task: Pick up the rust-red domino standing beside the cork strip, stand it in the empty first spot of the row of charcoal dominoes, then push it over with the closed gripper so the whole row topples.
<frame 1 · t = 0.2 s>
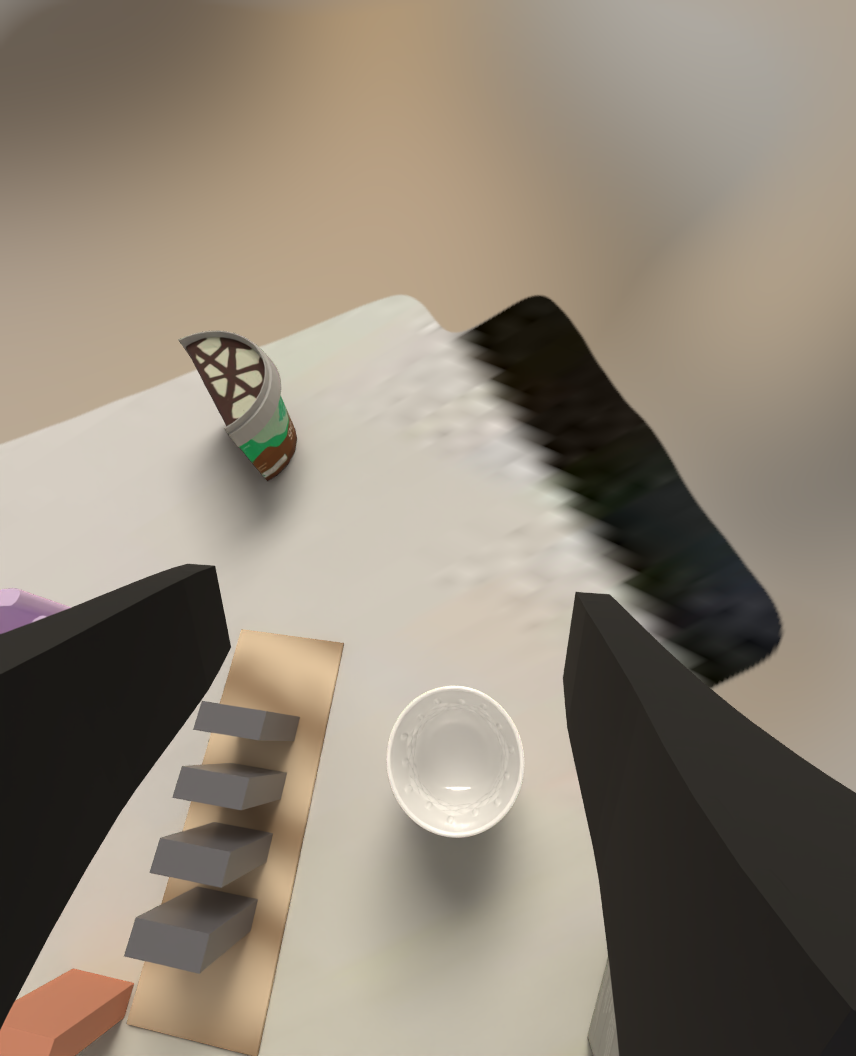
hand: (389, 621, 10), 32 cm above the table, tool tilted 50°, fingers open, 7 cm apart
food container: (277, 434, 51), on the table
domino 5: (269, 724, 39), resting on cork strip
skincare box: (658, 1018, 31), on the table
white cup: (458, 754, 38), on the table
domino 2: (223, 908, 35), resting on cork strip
rust domino: (97, 992, 33), on the table
cork strip: (249, 810, 37), on the table
domino 3: (239, 841, 36), resting on cork strip
clip: (4, 720, 42), on the table
domino 4: (255, 780, 38), resting on cork strip
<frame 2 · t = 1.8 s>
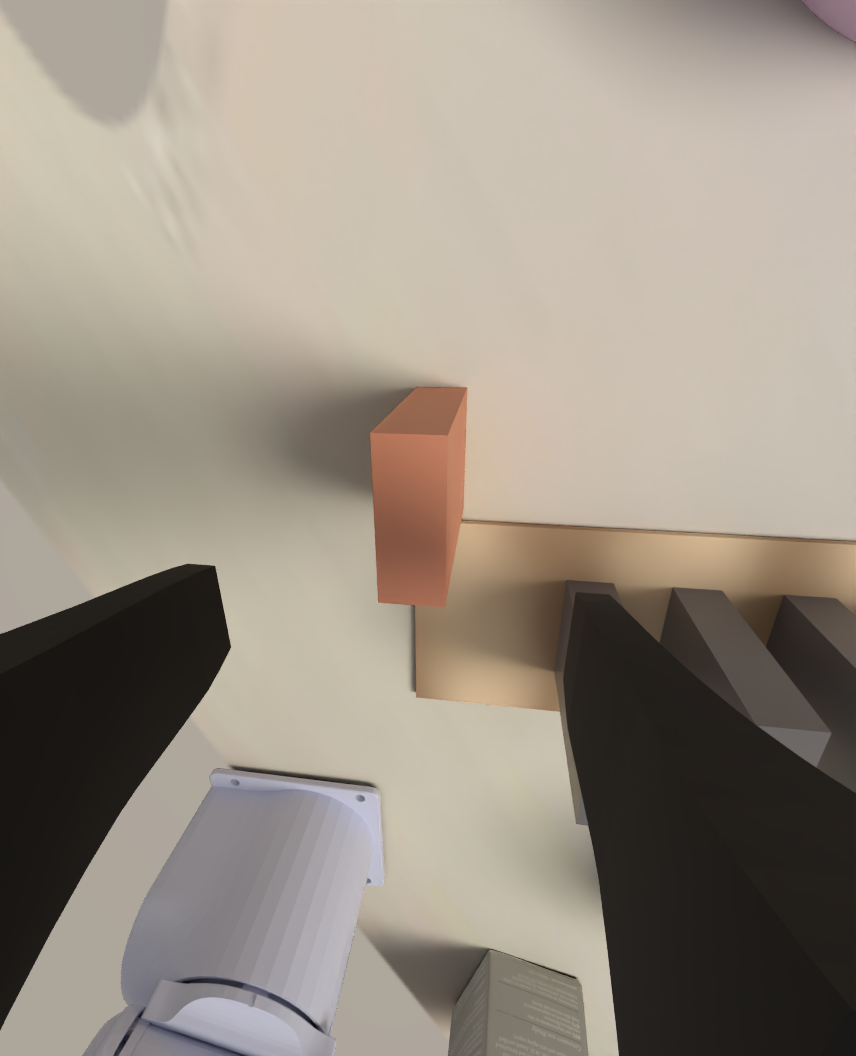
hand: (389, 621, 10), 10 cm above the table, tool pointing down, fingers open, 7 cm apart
skincare box: (509, 984, 33), on the table
domino 2: (582, 629, 21), resting on cork strip
rust domino: (441, 450, 19), on the table
cork strip: (734, 637, 20), on the table
domino 3: (684, 637, 20), resting on cork strip
domino 4: (791, 646, 20), resting on cork strip
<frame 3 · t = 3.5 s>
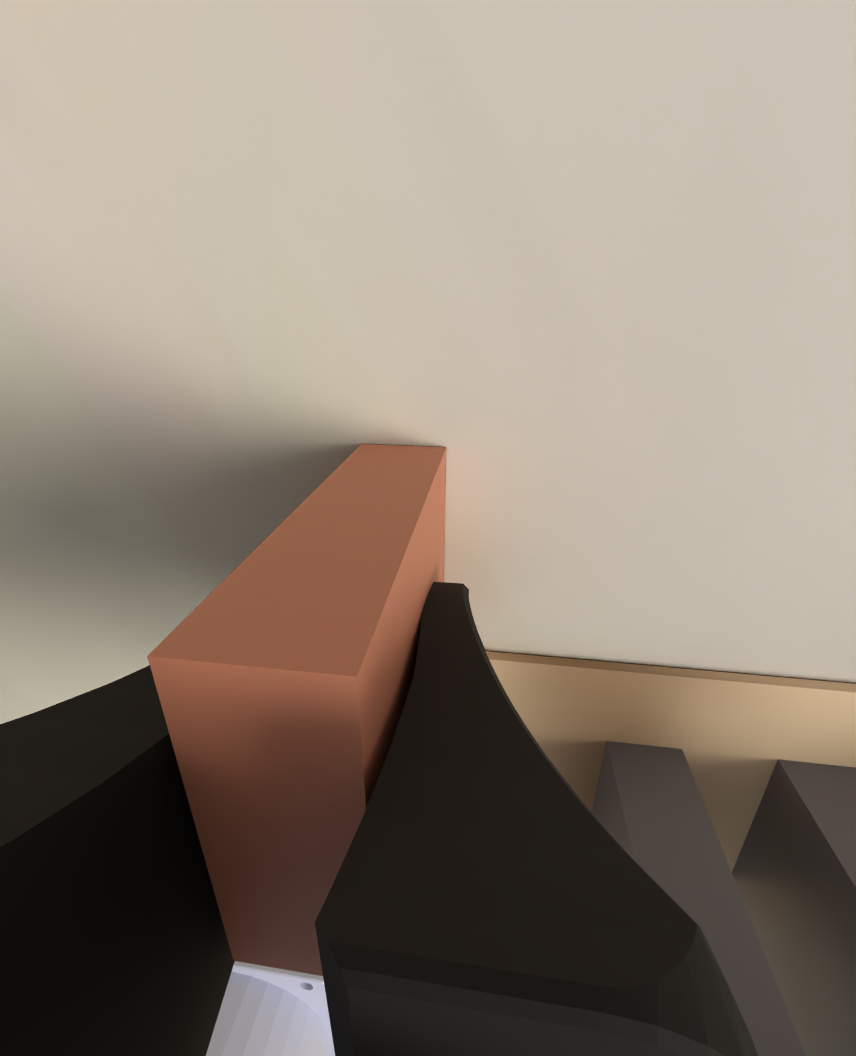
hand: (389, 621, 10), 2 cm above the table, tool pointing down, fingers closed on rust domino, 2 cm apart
domino 2: (628, 807, 13), resting on cork strip
rust domino: (404, 544, 11), on the table, touching gripper
domino 3: (789, 827, 13), resting on cork strip
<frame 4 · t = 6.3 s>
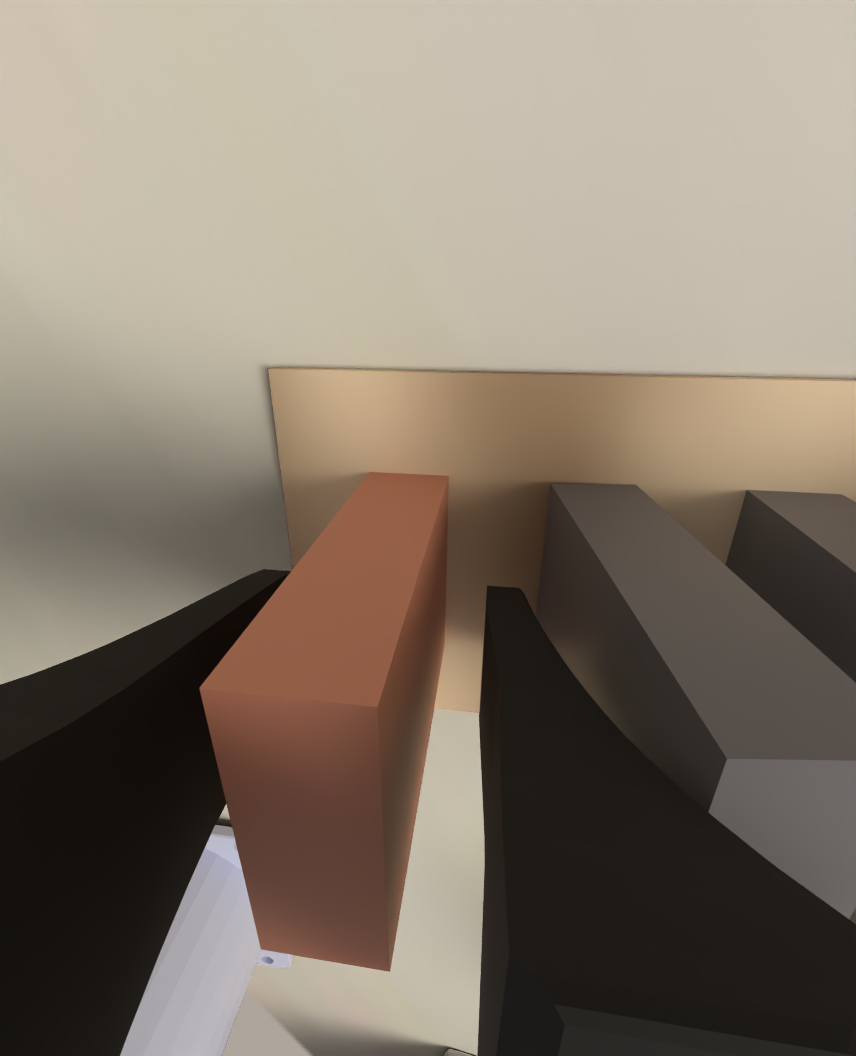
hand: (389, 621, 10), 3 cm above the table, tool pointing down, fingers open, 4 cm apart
domino 2: (579, 578, 11), resting on cork strip, tilted 7°, touching gripper
rust domino: (409, 564, 12), resting on cork strip
cork strip: (851, 588, 11), on the table
domino 3: (762, 588, 11), resting on cork strip
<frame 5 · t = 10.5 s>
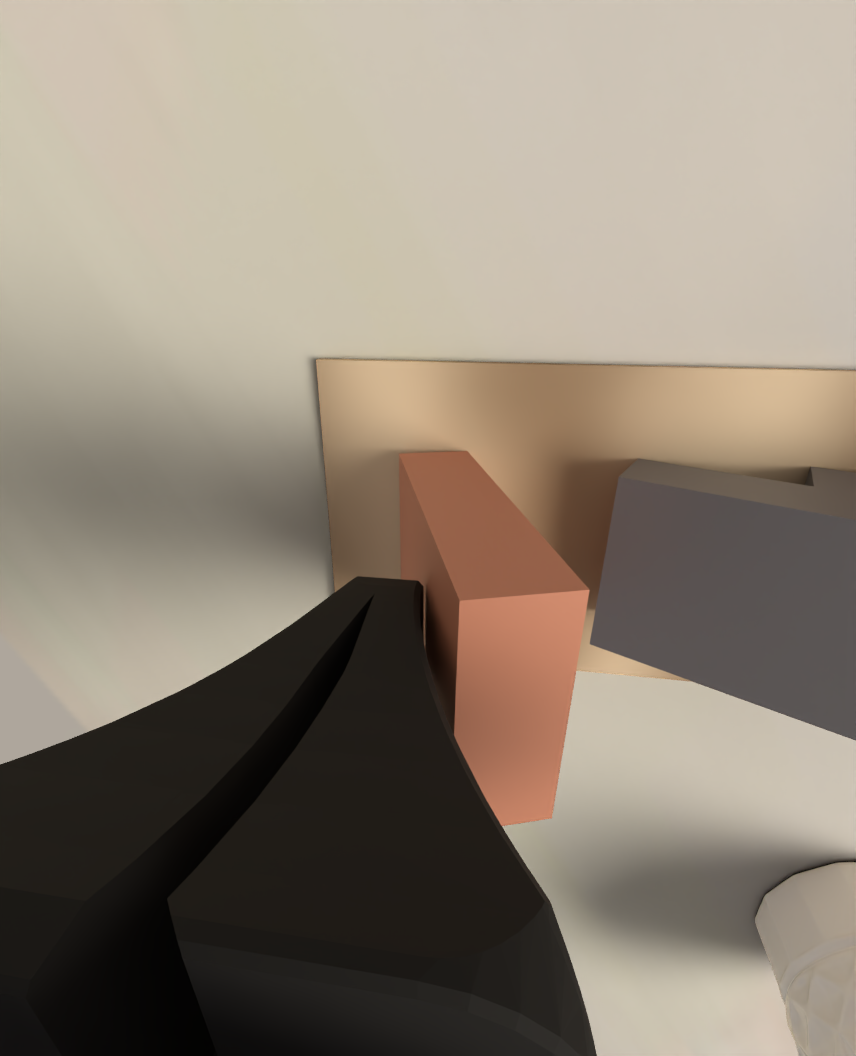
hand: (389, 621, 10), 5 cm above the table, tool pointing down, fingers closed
white cup: (848, 910, 19), on the table
domino 2: (613, 553, 13), point 1 cm above the table, tilted 63°, touching cork strip, domino 3
rust domino: (432, 532, 14), point 1 cm above the table, tilted 17°, touching cork strip
cork strip: (808, 547, 13), on the table
domino 3: (781, 564, 12), point 1 cm above the table, tilted 64°, touching cork strip, domino 2, domino 4
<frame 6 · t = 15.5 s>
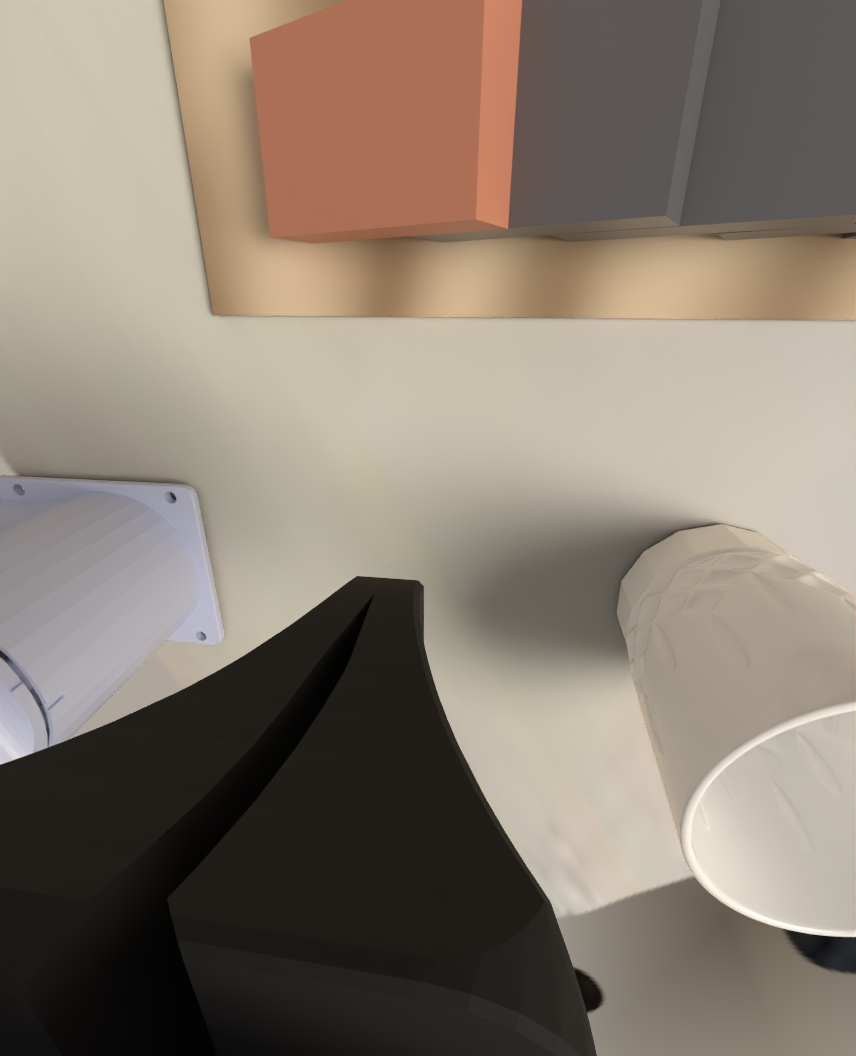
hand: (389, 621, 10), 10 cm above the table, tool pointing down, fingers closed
white cup: (700, 595, 20), on the table
domino 2: (427, 147, 14), point 1 cm above the table, tilted 63°, touching cork strip, domino 3, rust domino
rust domino: (284, 152, 15), point 1 cm above the table, tilted 64°, touching cork strip, domino 2
cork strip: (605, 153, 15), on the table
domino 3: (570, 143, 14), point 1 cm above the table, tilted 64°, touching cork strip, domino 2, domino 4
domino 4: (742, 139, 13), point 1 cm above the table, tilted 61°, touching cork strip, domino 3, domino 5
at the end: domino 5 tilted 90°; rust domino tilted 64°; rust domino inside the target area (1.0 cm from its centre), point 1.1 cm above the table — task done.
